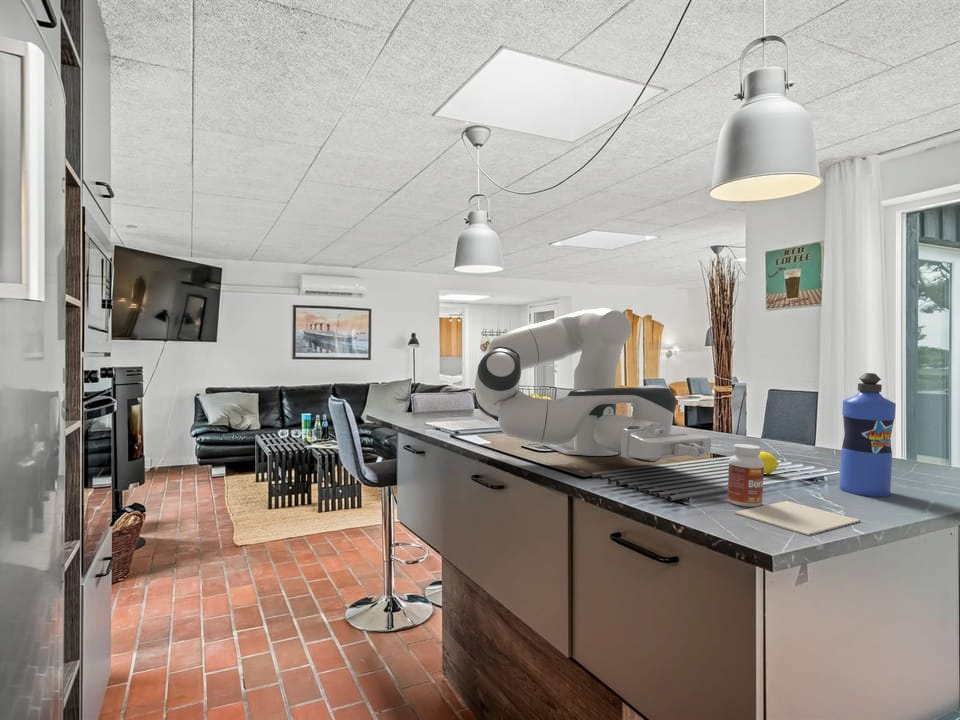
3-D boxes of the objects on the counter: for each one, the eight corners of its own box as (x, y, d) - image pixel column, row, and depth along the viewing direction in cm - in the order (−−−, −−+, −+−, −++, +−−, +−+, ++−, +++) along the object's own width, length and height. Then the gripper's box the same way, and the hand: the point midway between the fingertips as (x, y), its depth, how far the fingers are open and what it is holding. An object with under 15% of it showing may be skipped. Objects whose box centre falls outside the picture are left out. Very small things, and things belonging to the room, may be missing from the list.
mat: (734, 513, 108) (734, 511, 108) (786, 502, 116) (786, 500, 116) (808, 535, 97) (808, 533, 97) (860, 521, 105) (860, 519, 105)
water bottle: (828, 485, 131) (834, 371, 130) (868, 485, 132) (874, 372, 131) (859, 497, 122) (865, 374, 121) (902, 497, 123) (908, 375, 122)
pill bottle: (751, 509, 111) (754, 450, 110) (720, 501, 116) (723, 444, 115) (768, 504, 115) (771, 447, 114) (738, 497, 120) (740, 441, 119)
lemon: (744, 475, 142) (742, 452, 142) (755, 472, 145) (753, 450, 146) (773, 477, 137) (771, 453, 137) (784, 474, 140) (782, 450, 140)
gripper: (679, 451, 141) (731, 463, 129) (616, 457, 130) (666, 471, 118) (681, 424, 140) (733, 434, 129) (617, 428, 130) (668, 439, 118)
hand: (700, 452), depth 123 cm, fingers closed
